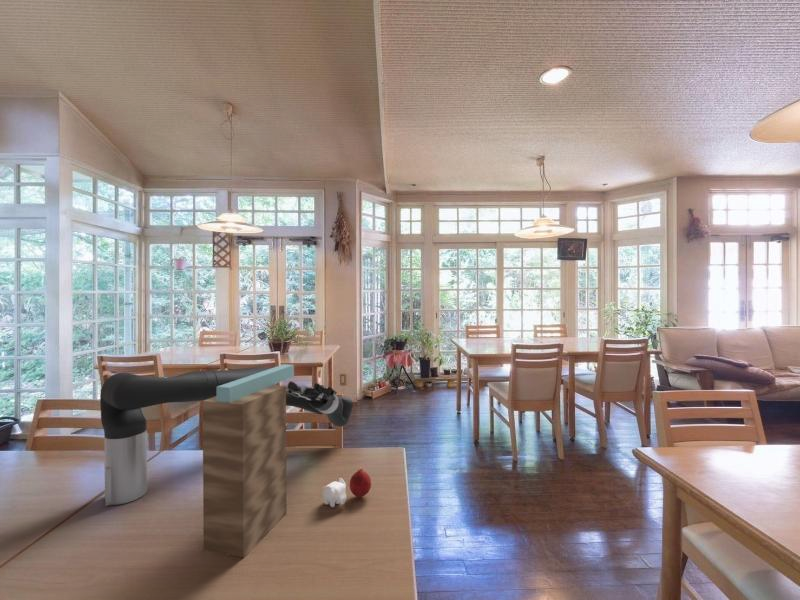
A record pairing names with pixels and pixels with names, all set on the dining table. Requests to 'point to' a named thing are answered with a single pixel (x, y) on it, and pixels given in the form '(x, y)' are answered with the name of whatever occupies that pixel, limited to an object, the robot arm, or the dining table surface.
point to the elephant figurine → (334, 493)
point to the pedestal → (243, 469)
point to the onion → (360, 483)
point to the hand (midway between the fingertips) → (302, 385)
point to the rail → (253, 383)
